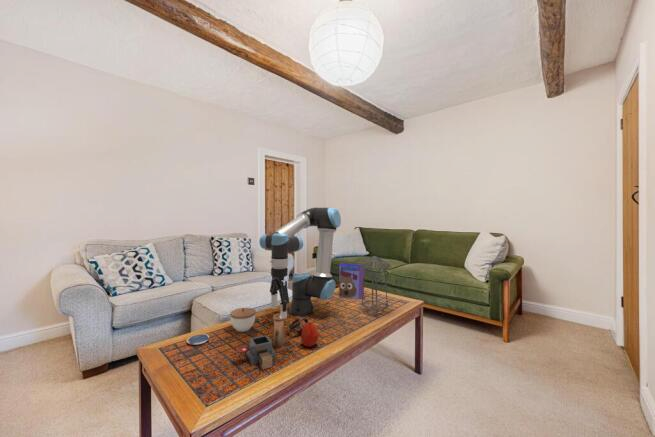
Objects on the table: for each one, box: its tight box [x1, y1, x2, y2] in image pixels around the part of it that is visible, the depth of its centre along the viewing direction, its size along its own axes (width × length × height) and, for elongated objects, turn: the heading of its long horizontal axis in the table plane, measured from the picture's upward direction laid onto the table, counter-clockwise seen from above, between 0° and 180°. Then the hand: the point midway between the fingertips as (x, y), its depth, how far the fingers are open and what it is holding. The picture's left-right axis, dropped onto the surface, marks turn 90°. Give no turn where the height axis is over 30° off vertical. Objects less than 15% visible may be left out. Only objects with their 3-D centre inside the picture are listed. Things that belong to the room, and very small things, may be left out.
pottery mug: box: [288, 317, 309, 333], centre depth 143 cm, size 12×9×8 cm
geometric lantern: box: [358, 255, 392, 316], centre depth 172 cm, size 16×16×35 cm
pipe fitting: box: [272, 312, 286, 349], centre depth 129 cm, size 5×5×14 cm
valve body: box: [236, 334, 277, 371], centre depth 118 cm, size 20×15×7 cm
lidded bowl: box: [229, 307, 257, 333], centre depth 145 cm, size 13×13×11 cm
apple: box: [300, 321, 320, 348], centre depth 130 cm, size 8×8×11 cm
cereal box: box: [338, 263, 365, 300], centre depth 200 cm, size 17×5×24 cm, turn 81°
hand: (278, 313), depth 128 cm, fingers open, 13 cm apart
